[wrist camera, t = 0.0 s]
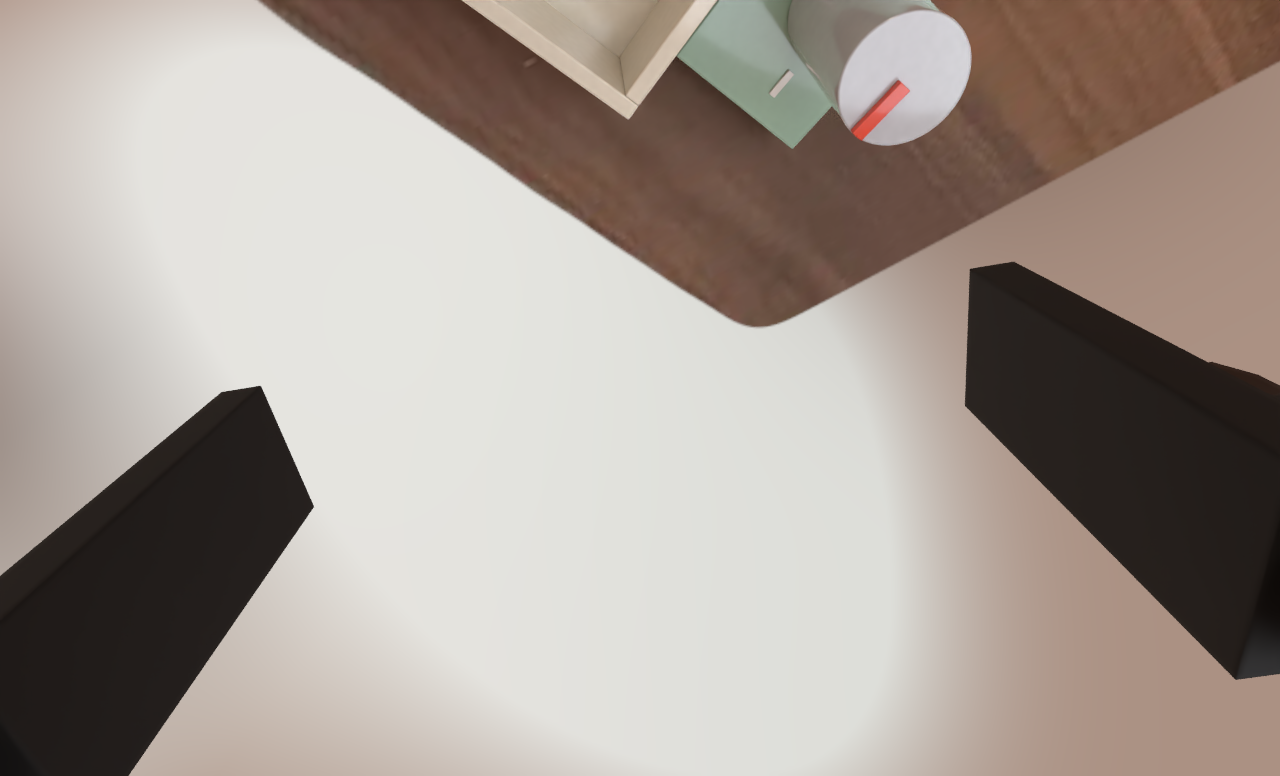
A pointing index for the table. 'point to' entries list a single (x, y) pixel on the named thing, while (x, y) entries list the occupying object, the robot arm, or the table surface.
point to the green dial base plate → (757, 65)
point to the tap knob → (883, 63)
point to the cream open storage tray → (602, 40)
